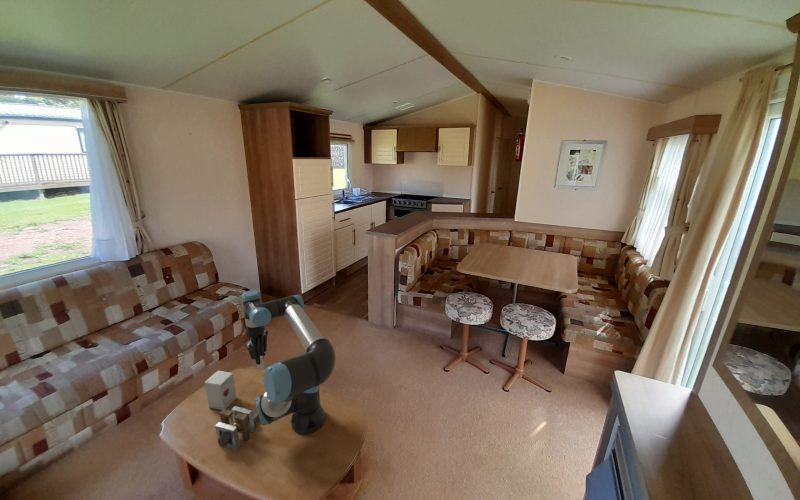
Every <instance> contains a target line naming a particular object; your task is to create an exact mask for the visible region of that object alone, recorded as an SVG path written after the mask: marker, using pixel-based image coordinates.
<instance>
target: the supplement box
mask: <svg viewBox="0 0 800 500" xmlns="http://www.w3.org/2000/svg"><path fill="white" fill-rule="evenodd" d="M204 387H205V393H206V394H205V395H206V398H207V405H208V408H210V409H216V410H220V411H222V410H223V409H226V410H227V409H228V407H230V406H231V404H233V402H234V401H235V400H236V399H237V390H236V384H235V378H234V372H228V371H222V370H216V372H214V373H213V374H212V375H211V376H209V378H208V379H207V380H205V381H204Z"/></svg>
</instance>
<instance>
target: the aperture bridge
mask: <svg viewBox="0 0 800 500" xmlns="http://www.w3.org/2000/svg"><path fill="white" fill-rule="evenodd" d="M232 415H233V411H232V410H229V409H227V408H226V409H223V410H220V412H219V417H220V420H221V423H225V424H228V425H231V422H230V418H231V417H233V416H232ZM247 418H248V416H247V415H245V414H241V413H238V414H237V415H236V416H235V417H234V419H235V420H237V421H240V424H241V430H240V431H241V434H242V435H241V437H242V441H243V442H245V443H248V442H249V441H250V440H251V433H250V432H249V425H248V419H247ZM223 432H224V431H223ZM224 433H225V432H224Z"/></svg>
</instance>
